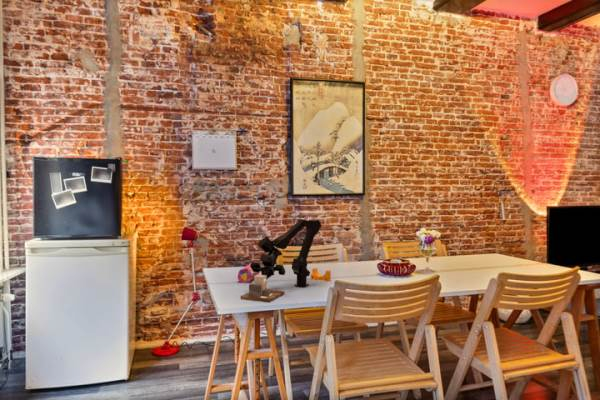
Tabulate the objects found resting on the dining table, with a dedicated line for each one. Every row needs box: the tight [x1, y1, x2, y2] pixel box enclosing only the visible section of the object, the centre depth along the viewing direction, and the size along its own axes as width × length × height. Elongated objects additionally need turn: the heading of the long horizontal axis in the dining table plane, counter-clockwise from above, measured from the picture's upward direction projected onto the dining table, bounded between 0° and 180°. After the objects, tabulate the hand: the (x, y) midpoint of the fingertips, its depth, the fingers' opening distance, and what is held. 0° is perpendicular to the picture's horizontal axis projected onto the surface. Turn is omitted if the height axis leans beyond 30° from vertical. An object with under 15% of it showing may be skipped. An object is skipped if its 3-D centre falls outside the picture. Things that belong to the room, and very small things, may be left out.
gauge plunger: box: [253, 274, 270, 295], centre depth 221 cm, size 4×8×9 cm, turn 68°
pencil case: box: [237, 262, 261, 284], centre depth 263 cm, size 22×9×9 cm, turn 172°
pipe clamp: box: [310, 267, 332, 282], centre depth 265 cm, size 12×4×6 cm, turn 52°
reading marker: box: [262, 285, 270, 296], centre depth 217 cm, size 2×3×4 cm, turn 68°
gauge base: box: [240, 283, 285, 303], centre depth 223 cm, size 18×16×8 cm
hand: (262, 281), depth 224 cm, fingers closed, pressing on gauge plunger
